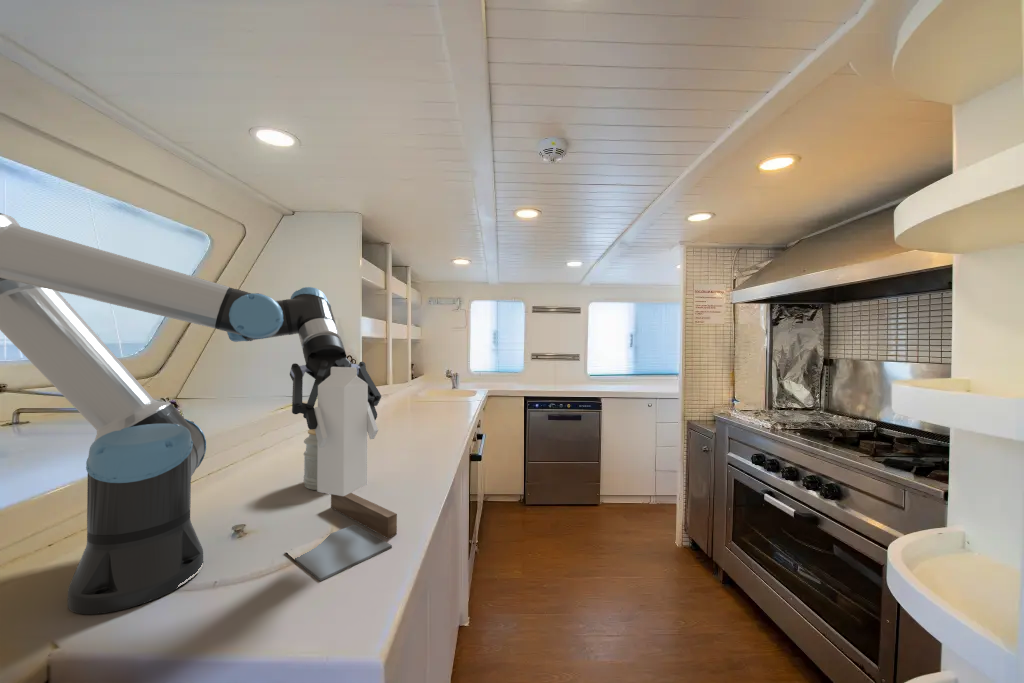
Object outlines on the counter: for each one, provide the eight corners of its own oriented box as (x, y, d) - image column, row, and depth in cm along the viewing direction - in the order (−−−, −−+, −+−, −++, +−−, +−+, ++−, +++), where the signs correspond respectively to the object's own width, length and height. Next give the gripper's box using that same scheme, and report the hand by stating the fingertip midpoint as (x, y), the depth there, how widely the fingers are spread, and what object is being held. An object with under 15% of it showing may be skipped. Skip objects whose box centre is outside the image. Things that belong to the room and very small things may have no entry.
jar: (355, 471, 113) (355, 411, 113) (358, 486, 101) (358, 418, 101) (304, 478, 107) (305, 414, 107) (301, 494, 96) (302, 422, 96)
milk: (343, 497, 67) (344, 368, 66) (316, 492, 69) (316, 367, 69) (368, 484, 72) (368, 366, 72) (342, 480, 74) (342, 365, 74)
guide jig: (320, 581, 61) (320, 555, 61) (258, 531, 77) (258, 511, 77) (407, 539, 74) (407, 518, 74) (339, 504, 90) (339, 487, 90)
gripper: (367, 357, 89) (398, 441, 77) (260, 359, 75) (278, 462, 63) (377, 333, 85) (411, 418, 73) (266, 331, 71) (286, 435, 59)
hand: (349, 438), depth 68 cm, fingers closed on milk, 8 cm apart
